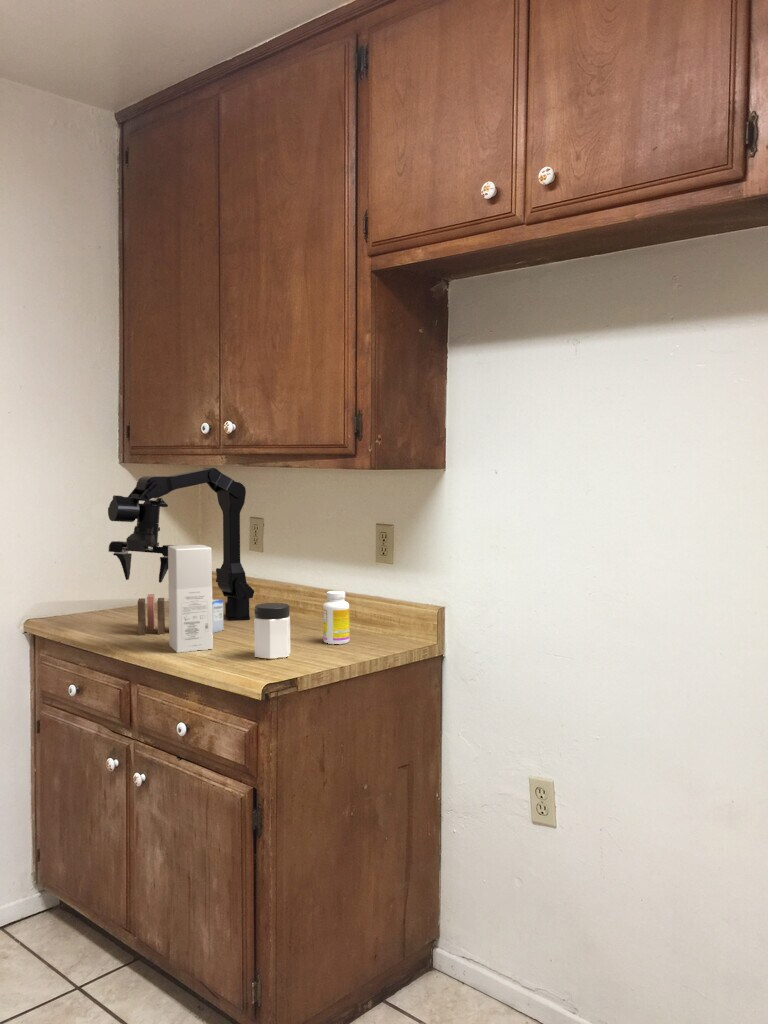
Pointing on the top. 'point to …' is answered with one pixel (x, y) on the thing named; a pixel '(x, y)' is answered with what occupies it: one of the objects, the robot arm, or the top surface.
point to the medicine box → (217, 615)
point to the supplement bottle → (336, 618)
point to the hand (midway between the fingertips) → (143, 581)
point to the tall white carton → (190, 598)
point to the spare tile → (150, 611)
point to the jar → (272, 630)
